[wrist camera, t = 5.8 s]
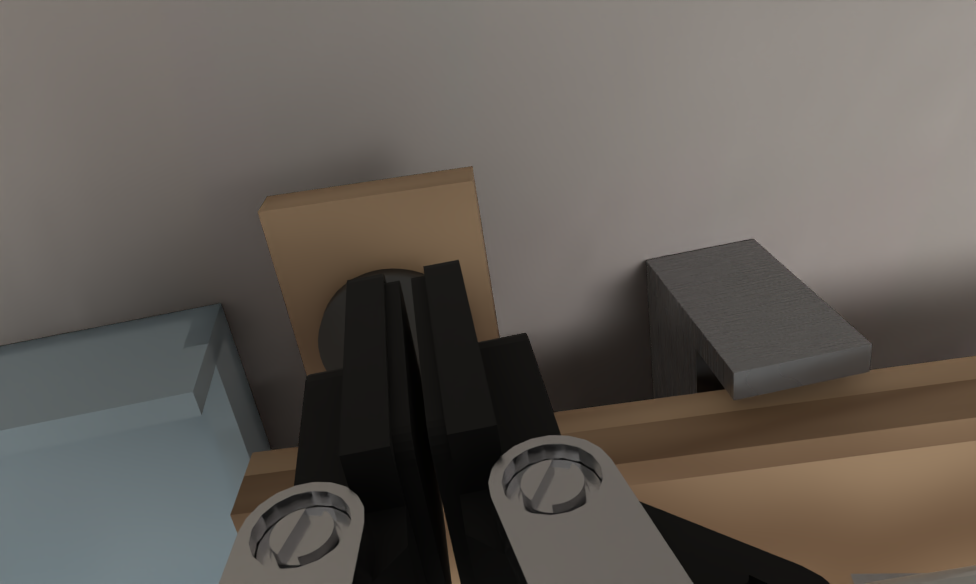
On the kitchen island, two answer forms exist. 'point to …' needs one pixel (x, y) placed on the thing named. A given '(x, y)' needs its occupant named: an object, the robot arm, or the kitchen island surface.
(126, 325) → the dish
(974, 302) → the kitchen island surface
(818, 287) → the kitchen island surface
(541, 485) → the robot arm
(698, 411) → the lever
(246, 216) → the kitchen island surface
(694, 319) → the grey arch block
